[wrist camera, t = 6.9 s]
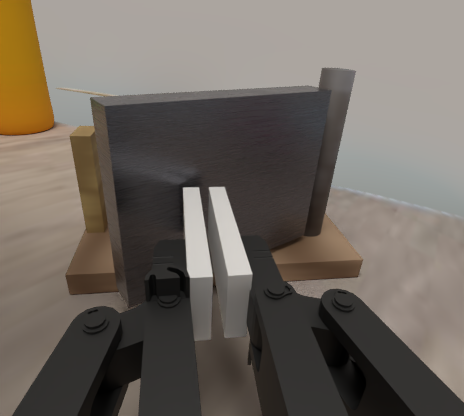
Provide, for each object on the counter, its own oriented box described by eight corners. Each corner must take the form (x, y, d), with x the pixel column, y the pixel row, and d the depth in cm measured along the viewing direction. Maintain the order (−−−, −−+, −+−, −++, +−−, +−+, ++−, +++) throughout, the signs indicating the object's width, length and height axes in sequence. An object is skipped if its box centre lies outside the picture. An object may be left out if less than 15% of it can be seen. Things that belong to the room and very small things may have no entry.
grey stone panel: (286, 224, 25) (308, 85, 20) (304, 235, 24) (331, 90, 19) (116, 287, 18) (90, 97, 13) (129, 307, 17) (104, 105, 12)
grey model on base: (309, 211, 31) (337, 63, 25) (357, 276, 23) (417, 80, 17) (100, 216, 28) (75, 49, 22) (70, 294, 20) (16, 62, 14)
